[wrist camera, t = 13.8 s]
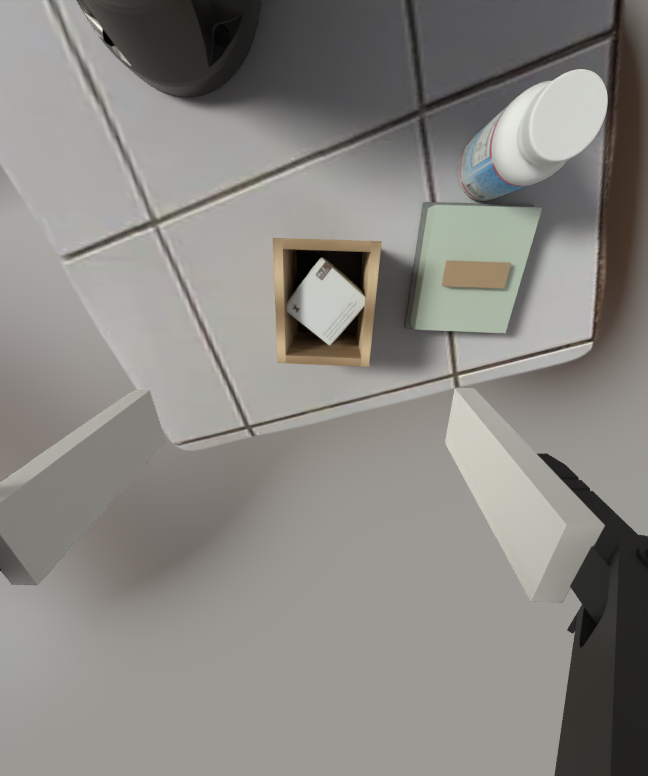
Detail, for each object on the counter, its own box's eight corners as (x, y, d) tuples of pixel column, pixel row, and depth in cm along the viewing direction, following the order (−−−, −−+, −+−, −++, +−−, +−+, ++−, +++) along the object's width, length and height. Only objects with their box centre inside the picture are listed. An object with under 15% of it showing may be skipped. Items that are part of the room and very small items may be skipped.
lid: (428, 208, 30) (438, 203, 27) (527, 211, 30) (549, 206, 27) (410, 324, 35) (417, 331, 32) (494, 328, 35) (510, 335, 32)
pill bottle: (528, 177, 29) (630, 137, 19) (468, 214, 31) (532, 195, 20) (510, 109, 27) (613, 23, 17) (446, 152, 29) (506, 97, 18)
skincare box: (331, 330, 36) (329, 348, 30) (292, 298, 35) (281, 309, 28) (364, 291, 34) (371, 300, 27) (324, 255, 33) (320, 255, 26)
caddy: (289, 241, 32) (272, 237, 24) (370, 244, 32) (381, 241, 24) (291, 338, 37) (277, 362, 29) (362, 341, 37) (368, 366, 29)
